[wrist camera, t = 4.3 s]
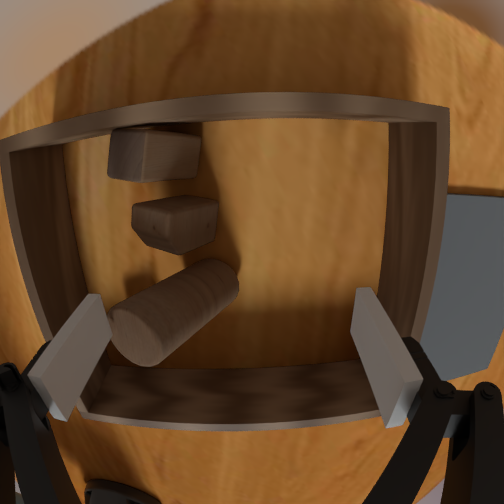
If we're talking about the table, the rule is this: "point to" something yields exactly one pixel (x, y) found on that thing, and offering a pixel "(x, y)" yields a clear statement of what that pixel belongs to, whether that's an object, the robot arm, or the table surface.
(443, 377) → the mat
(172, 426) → the crate
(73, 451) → the table surface
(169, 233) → the wooden block set
